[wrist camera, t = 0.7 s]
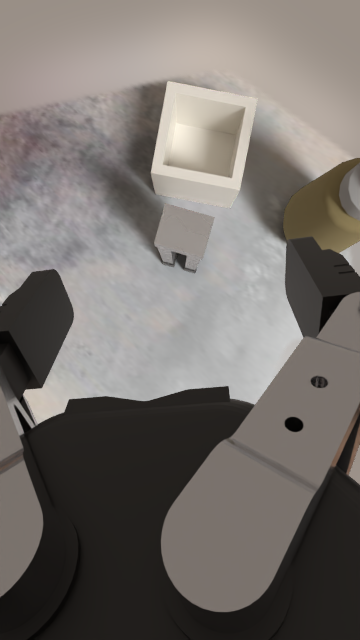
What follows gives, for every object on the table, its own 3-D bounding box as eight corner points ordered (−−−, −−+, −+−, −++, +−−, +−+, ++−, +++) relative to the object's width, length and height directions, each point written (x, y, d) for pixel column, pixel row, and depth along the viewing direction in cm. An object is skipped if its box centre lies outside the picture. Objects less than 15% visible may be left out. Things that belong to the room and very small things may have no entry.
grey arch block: (162, 264, 40) (153, 243, 26) (169, 238, 40) (165, 203, 26) (194, 273, 40) (203, 257, 26) (202, 247, 40) (214, 217, 26)
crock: (155, 194, 40) (150, 172, 34) (169, 117, 40) (167, 80, 33) (230, 208, 40) (239, 190, 34) (244, 132, 40) (257, 98, 33)
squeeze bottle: (311, 276, 41) (416, 253, 23) (259, 232, 40) (324, 175, 22) (355, 223, 40) (497, 158, 22) (303, 179, 40) (405, 77, 22)
